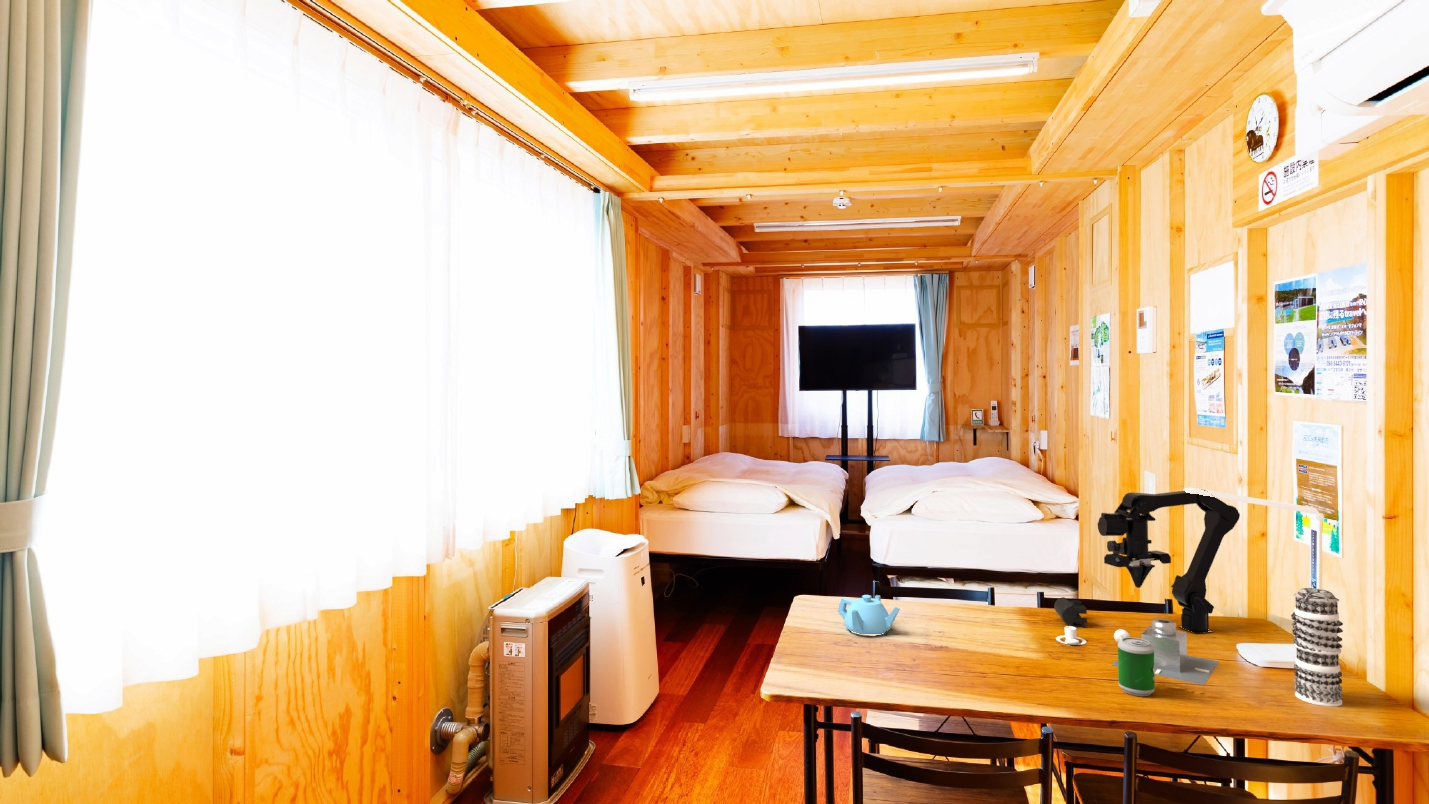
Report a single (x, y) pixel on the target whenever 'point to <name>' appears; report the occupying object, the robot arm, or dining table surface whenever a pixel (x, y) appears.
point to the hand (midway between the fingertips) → (1138, 587)
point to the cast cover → (1167, 645)
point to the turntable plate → (1192, 672)
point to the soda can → (1136, 666)
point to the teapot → (866, 615)
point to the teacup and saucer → (1071, 636)
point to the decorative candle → (1317, 647)
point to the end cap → (1071, 612)
